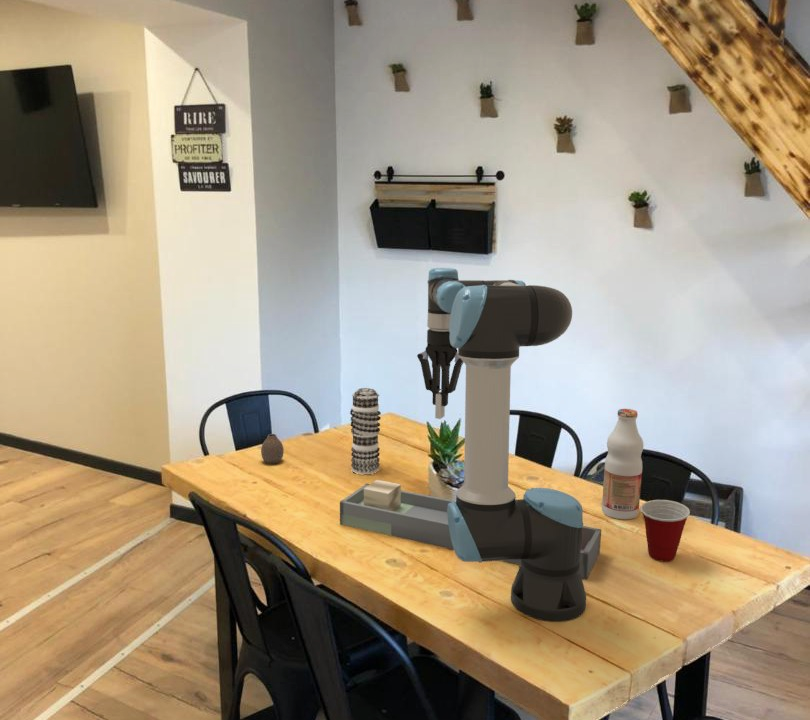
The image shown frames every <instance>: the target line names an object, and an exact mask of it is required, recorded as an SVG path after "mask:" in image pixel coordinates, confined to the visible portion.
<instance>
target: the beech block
mask: <svg viewBox="0 0 810 720" xmlns="http://www.w3.org/2000/svg"><path fill="white" fill-rule="evenodd" d="M369 484H370V485H368V486H367V487H365V488H364V505H366V506H371V507H375V508H380V509H385V510H390V511H396V510H397V509H398V508H399V507H401V490H402V484H401V483H395V482H390V481H385V480H380V479H375V480H374V481H373V482H371V483H369Z"/></svg>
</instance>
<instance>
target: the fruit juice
mask: <svg viewBox="0 0 810 720" xmlns="http://www.w3.org/2000/svg"><path fill="white" fill-rule="evenodd" d="M617 418H618V419H617V422H616V425H615V427H614V428H613V430H612V432H611V433H610V434H609V436H608V437H607V441H606V442H607V443H606V447H607V451H608V452H607V455H606V457H605V460H604V461H605V462H604V469H603V470H604V472H603V486H602V498H601V499H602V500H601V512H602V513H603V514H604V515H605V516H607V517H610V518H613V519H616V520H617V519H618V520H631V519H636V518H637V517H638V515H639V511H640V499H641V490H642V489H641V488H642V487H641V486H642V474H643V460H642V452H643V450H644V440H643V438H642V436H641V434H640V432H639V430H638V427H637V419H638V411H637V410H635V409H633V408H619V409H617Z"/></svg>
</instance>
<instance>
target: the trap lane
mask: <svg viewBox="0 0 810 720" xmlns="http://www.w3.org/2000/svg"><path fill="white" fill-rule="evenodd" d="M370 484H371V483H365V484H364V485H362V486H361V487H359V488H358V489H357V490H355V491H353V492H352V493H351V494H349V495H348V496H347V497H345V498H343V499H342V500H340V501H339V524H340V525H342V526H347V527H351V528H356V529H360V530H363V531H370V532H373V533H377V534H383V535H387V536H390V537H396V538H400V539H403V540H408V541H413V542H416V543H417V542H418V543H422V544H425V545H432V546H435V547H440V548H444V549H450V550H453V551H454V548H453V545H452V541H451V536H450V532H449V526H448V518H447V509H448V507H447V506H448V504H449V503H451V502H452V499H448V498H442V497H438V496H432V495H427V494H422V493H417V492H412V491H406V490H402V489H401V507H399V508H398V509H397V510H396V511H390V510H385V509H380V508H375V507H371V506H366V505H364V488H365V487H367V486H368V485H370ZM453 501H454V502H455V501H456V500H453ZM601 537H602V529H601V528H597V527H592V526H591V527H590V526H586V525H583V527H582V539H581V552H580V566H579V571H580V574H581V578H582V580H587V579H588V577H589V575H590V574H591V572H592V570H593V568H594V566H593V565H595V564H594V563H596V562H595V561H597V559H598V557H599V555H600V554H601V539H602V538H601ZM502 561H503V562H507V563H512V564H515V565H519V566H520V565H521V559H518V560H502ZM502 561H501V562H502ZM590 571H591V572H590Z"/></svg>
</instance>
